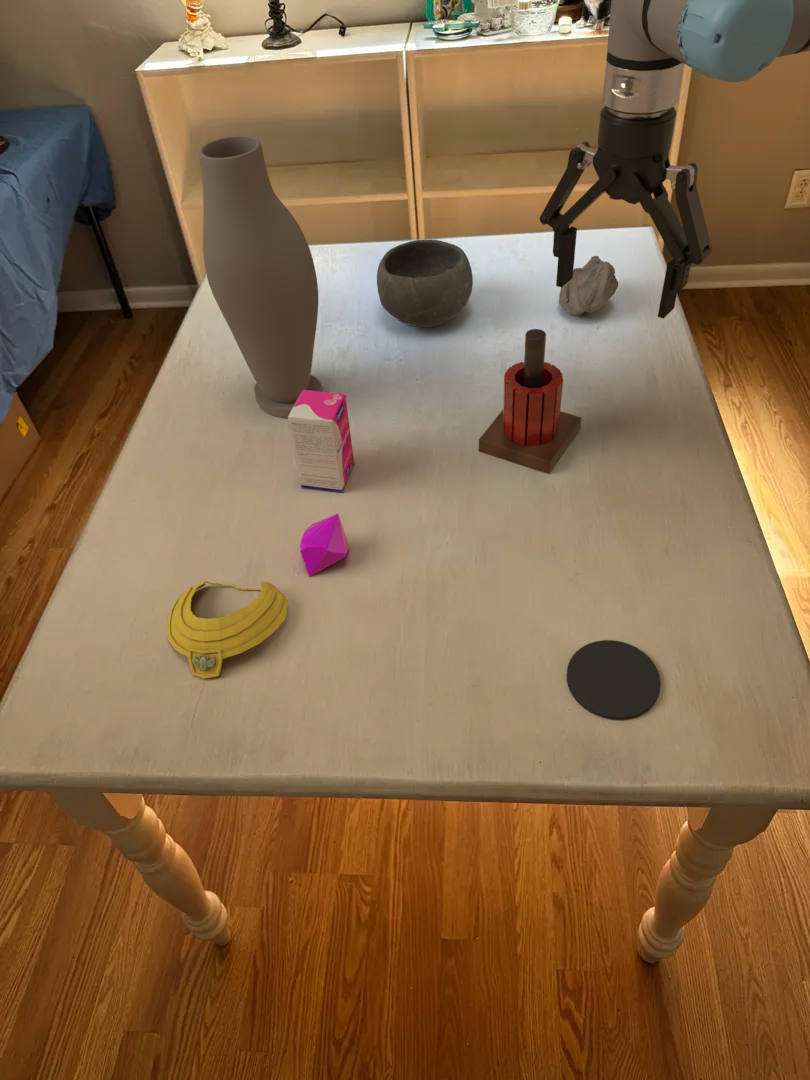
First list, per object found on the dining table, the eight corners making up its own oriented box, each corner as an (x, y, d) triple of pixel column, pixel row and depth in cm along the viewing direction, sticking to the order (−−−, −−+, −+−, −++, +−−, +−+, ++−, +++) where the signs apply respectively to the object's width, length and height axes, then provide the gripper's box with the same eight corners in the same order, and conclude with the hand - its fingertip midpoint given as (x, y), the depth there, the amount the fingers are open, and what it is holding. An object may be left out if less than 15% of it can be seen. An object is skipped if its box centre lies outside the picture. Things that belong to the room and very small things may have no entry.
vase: (349, 384, 115) (312, 131, 90) (302, 436, 108) (247, 176, 82) (275, 365, 120) (219, 120, 95) (225, 414, 112) (150, 162, 87)
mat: (672, 664, 78) (673, 661, 78) (641, 735, 73) (642, 732, 73) (587, 630, 82) (587, 627, 82) (551, 695, 77) (552, 692, 76)
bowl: (459, 346, 120) (457, 286, 113) (368, 336, 124) (361, 277, 117) (482, 297, 129) (482, 239, 122) (397, 289, 133) (392, 232, 126)
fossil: (555, 290, 129) (559, 243, 124) (611, 288, 128) (617, 241, 123) (560, 326, 122) (564, 279, 116) (619, 325, 121) (626, 277, 115)
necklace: (149, 615, 88) (138, 591, 84) (247, 560, 92) (239, 535, 89) (202, 689, 80) (191, 666, 77) (304, 625, 85) (298, 600, 82)
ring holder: (580, 429, 104) (592, 322, 93) (549, 474, 99) (557, 366, 87) (512, 409, 108) (515, 304, 97) (478, 451, 103) (478, 345, 91)
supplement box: (344, 493, 99) (331, 421, 91) (300, 488, 100) (283, 417, 92) (357, 463, 103) (345, 391, 95) (314, 459, 104) (299, 388, 96)
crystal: (304, 544, 93) (297, 517, 90) (349, 539, 93) (344, 511, 90) (304, 577, 90) (298, 550, 86) (351, 571, 90) (346, 544, 87)
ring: (566, 420, 103) (571, 369, 97) (544, 451, 99) (548, 400, 93) (517, 406, 106) (519, 355, 100) (493, 436, 102) (494, 385, 96)
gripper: (514, 99, 83) (509, 283, 99) (744, 140, 72) (698, 342, 87) (552, 78, 87) (541, 258, 103) (776, 114, 75) (726, 311, 91)
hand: (613, 297), depth 95 cm, fingers open, 13 cm apart
